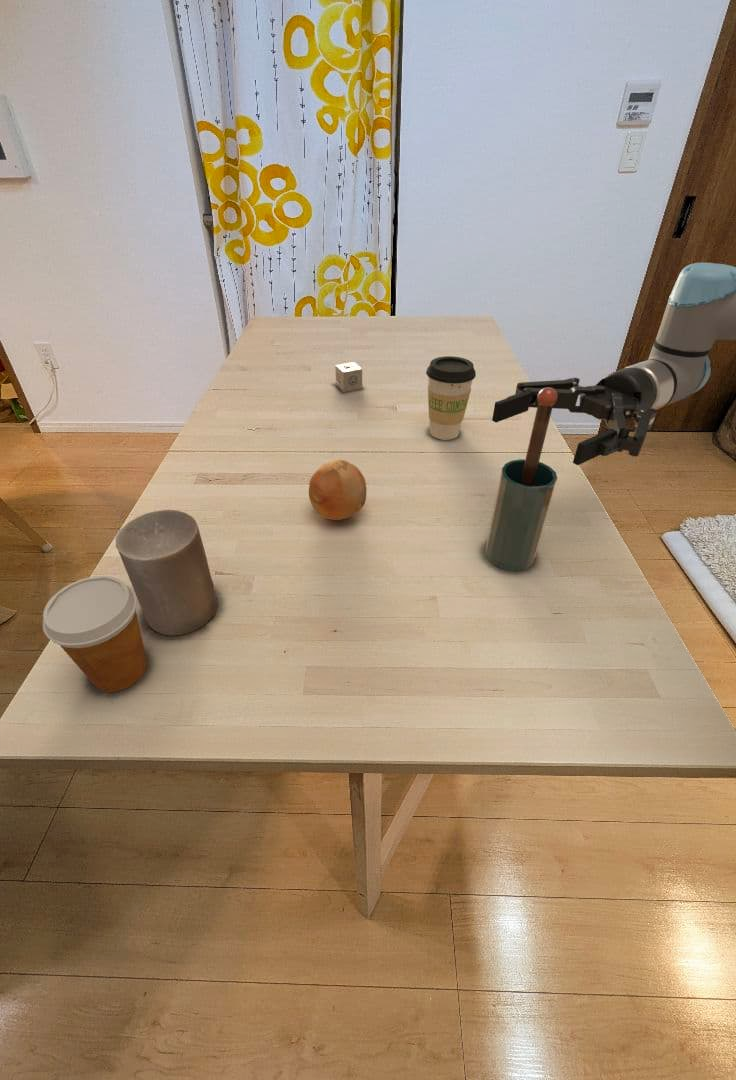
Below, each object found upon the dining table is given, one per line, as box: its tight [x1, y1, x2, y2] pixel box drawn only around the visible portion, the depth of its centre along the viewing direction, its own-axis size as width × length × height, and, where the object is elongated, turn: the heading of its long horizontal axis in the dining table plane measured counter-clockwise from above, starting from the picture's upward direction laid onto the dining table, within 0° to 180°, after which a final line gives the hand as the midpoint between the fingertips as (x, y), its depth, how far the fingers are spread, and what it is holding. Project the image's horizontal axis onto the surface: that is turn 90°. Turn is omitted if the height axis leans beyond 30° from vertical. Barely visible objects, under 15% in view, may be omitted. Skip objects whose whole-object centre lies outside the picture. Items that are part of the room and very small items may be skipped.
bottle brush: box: [520, 387, 558, 486], centre depth 72 cm, size 4×4×26 cm
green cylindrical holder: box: [485, 458, 558, 572], centre depth 76 cm, size 7×7×15 cm
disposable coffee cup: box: [42, 575, 148, 693], centre depth 60 cm, size 10×10×12 cm
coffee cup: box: [425, 355, 477, 441], centre depth 107 cm, size 10×10×15 cm
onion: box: [308, 459, 367, 521], centre depth 86 cm, size 10×10×10 cm
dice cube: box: [334, 361, 363, 393], centre depth 128 cm, size 5×5×5 cm
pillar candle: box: [114, 509, 219, 637], centre depth 67 cm, size 10×10×15 cm
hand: (533, 432), depth 66 cm, fingers open, 13 cm apart
